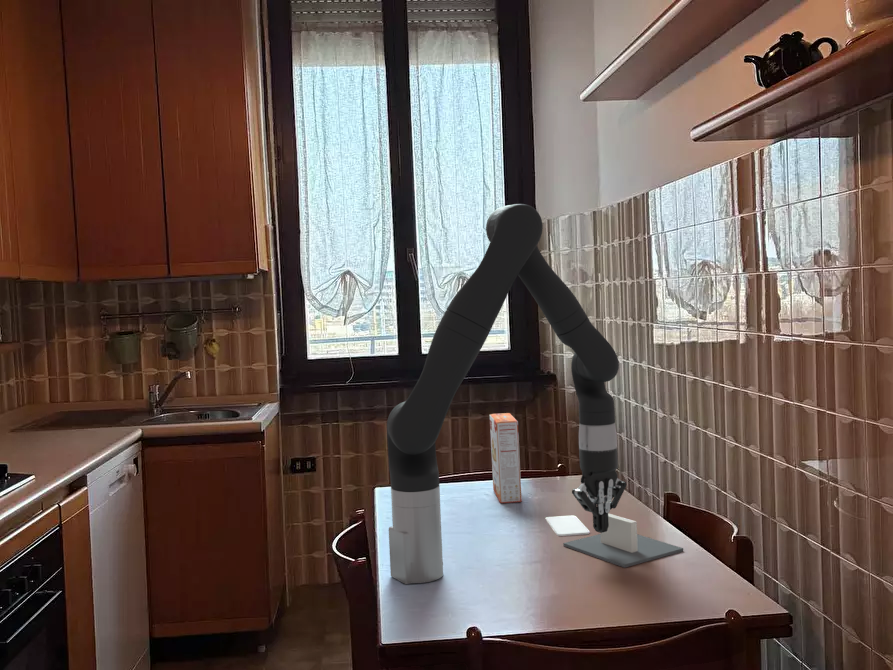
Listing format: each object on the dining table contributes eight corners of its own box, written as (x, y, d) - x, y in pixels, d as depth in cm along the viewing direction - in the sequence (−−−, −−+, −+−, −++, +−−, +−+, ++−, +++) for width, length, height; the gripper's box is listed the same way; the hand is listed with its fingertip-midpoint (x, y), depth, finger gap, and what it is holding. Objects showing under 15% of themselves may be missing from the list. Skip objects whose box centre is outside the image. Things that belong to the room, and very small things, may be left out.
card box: (631, 552, 170) (630, 522, 170) (600, 542, 178) (599, 513, 178) (637, 551, 171) (637, 521, 171) (606, 540, 179) (606, 512, 179)
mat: (624, 567, 163) (624, 564, 163) (563, 545, 179) (563, 543, 179) (683, 551, 172) (683, 548, 172) (620, 531, 187) (620, 528, 187)
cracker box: (491, 491, 229) (488, 413, 228) (514, 489, 230) (511, 412, 229) (498, 504, 216) (495, 421, 214) (522, 502, 216) (519, 420, 215)
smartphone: (575, 515, 201) (590, 532, 186) (575, 518, 201) (591, 535, 186) (544, 517, 201) (557, 534, 186) (544, 520, 201) (557, 537, 186)
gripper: (585, 452, 164) (588, 542, 165) (635, 443, 171) (638, 529, 172) (560, 447, 171) (563, 533, 172) (609, 439, 178) (612, 521, 179)
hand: (601, 531), depth 172 cm, fingers closed
